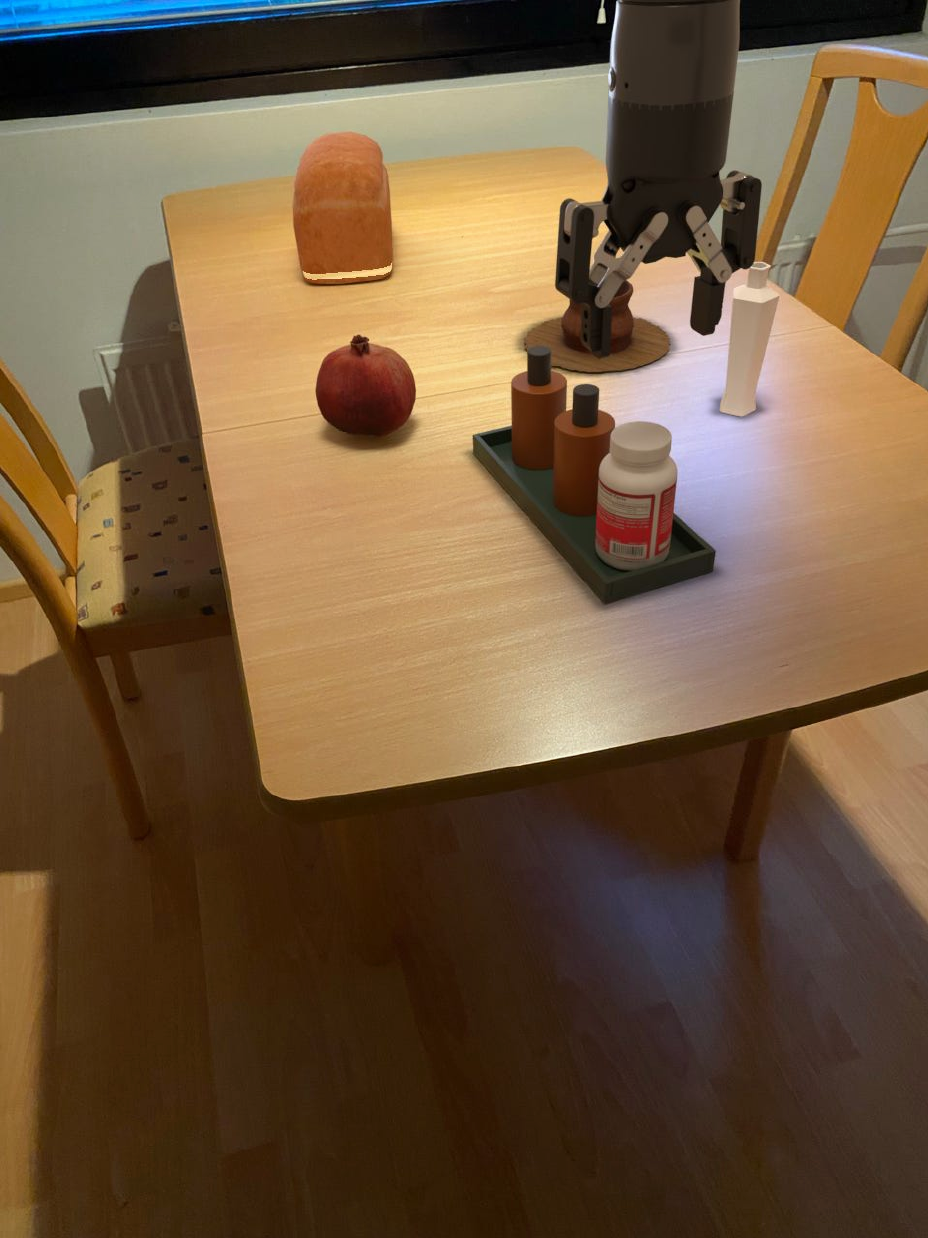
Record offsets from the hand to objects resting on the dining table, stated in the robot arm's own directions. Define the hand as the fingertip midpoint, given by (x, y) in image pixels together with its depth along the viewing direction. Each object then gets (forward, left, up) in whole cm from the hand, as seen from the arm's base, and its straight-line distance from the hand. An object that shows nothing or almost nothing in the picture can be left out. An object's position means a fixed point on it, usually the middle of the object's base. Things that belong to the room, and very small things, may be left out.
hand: (650, 342), depth 67 cm
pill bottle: (0, 0, -19) cm, 19 cm away
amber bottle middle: (0, -9, -19) cm, 21 cm away
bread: (-2, -88, -19) cm, 90 cm away
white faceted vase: (-24, -19, -19) cm, 36 cm away
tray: (0, -9, -19) cm, 21 cm away
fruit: (+13, -32, -19) cm, 40 cm away
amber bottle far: (0, -18, -19) cm, 26 cm away
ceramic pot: (-19, -41, -19) cm, 49 cm away
